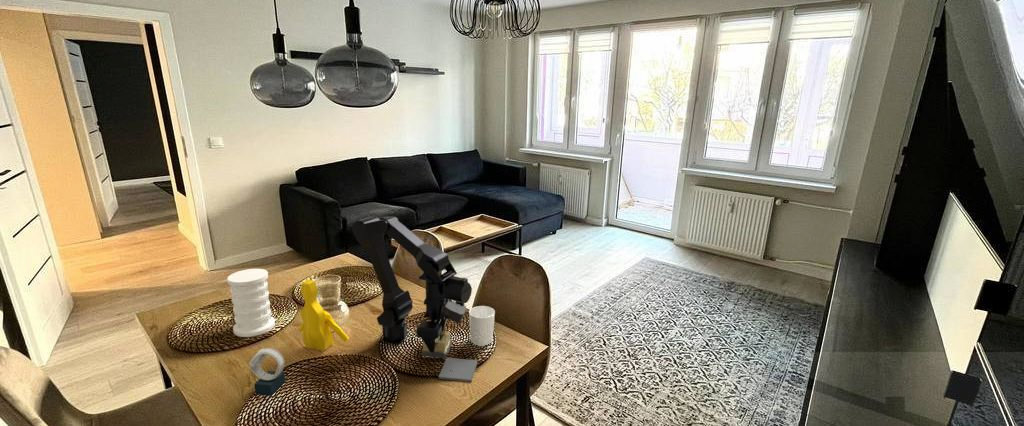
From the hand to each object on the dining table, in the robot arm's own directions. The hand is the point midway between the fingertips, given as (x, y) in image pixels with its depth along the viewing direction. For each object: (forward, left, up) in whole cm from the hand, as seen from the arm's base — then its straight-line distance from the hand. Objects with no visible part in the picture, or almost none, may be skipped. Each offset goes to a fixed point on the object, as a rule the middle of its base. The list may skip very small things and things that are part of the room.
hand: (436, 343), depth 129 cm
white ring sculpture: (-37, -23, -3) cm, 44 cm away
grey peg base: (0, 0, -3) cm, 3 cm away
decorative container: (-61, +4, -3) cm, 61 cm away
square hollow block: (0, 0, -1) cm, 1 cm away
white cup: (+12, +8, -3) cm, 15 cm away
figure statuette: (-35, -3, -3) cm, 35 cm away
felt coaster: (+9, -8, -3) cm, 12 cm away
